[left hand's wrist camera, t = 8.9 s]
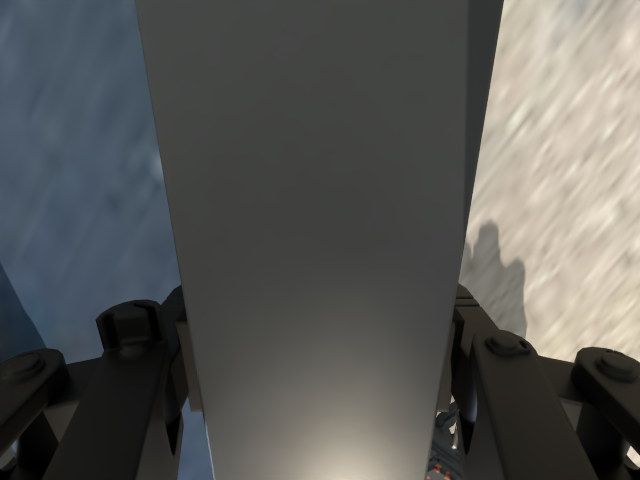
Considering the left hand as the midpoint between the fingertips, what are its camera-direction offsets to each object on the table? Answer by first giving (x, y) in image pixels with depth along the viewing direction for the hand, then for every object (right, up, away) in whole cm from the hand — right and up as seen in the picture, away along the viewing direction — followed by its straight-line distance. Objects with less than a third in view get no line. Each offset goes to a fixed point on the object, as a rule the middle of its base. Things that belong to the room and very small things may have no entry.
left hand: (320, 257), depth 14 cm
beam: (0, +26, -9) cm, 28 cm away
